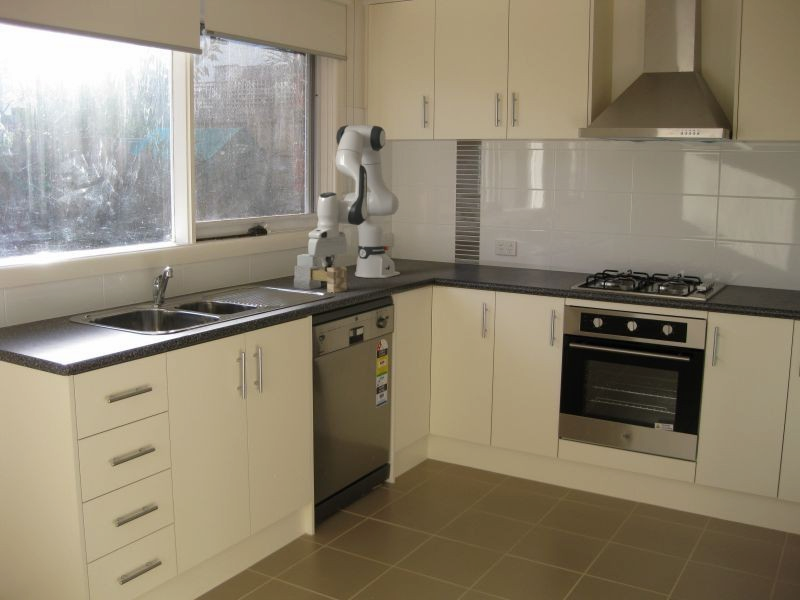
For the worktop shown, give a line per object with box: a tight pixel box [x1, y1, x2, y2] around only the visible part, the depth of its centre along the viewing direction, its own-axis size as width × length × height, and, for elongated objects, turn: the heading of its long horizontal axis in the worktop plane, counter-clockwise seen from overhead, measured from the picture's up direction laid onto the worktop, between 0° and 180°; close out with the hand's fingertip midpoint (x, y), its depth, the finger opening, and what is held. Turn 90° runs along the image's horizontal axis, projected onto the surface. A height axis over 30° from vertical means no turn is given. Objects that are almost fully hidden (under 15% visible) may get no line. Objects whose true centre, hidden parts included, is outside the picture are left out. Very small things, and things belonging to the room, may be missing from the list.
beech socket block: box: [326, 265, 348, 294], centre depth 358 cm, size 8×4×10 cm, turn 142°
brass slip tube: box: [311, 255, 333, 282], centre depth 361 cm, size 4×16×10 cm, turn 52°
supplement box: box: [296, 253, 319, 266], centre depth 380 cm, size 7×7×13 cm
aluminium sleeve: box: [293, 265, 322, 290], centre depth 368 cm, size 7×9×9 cm
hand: (328, 266), depth 360 cm, fingers closed on brass slip tube, 3 cm apart
